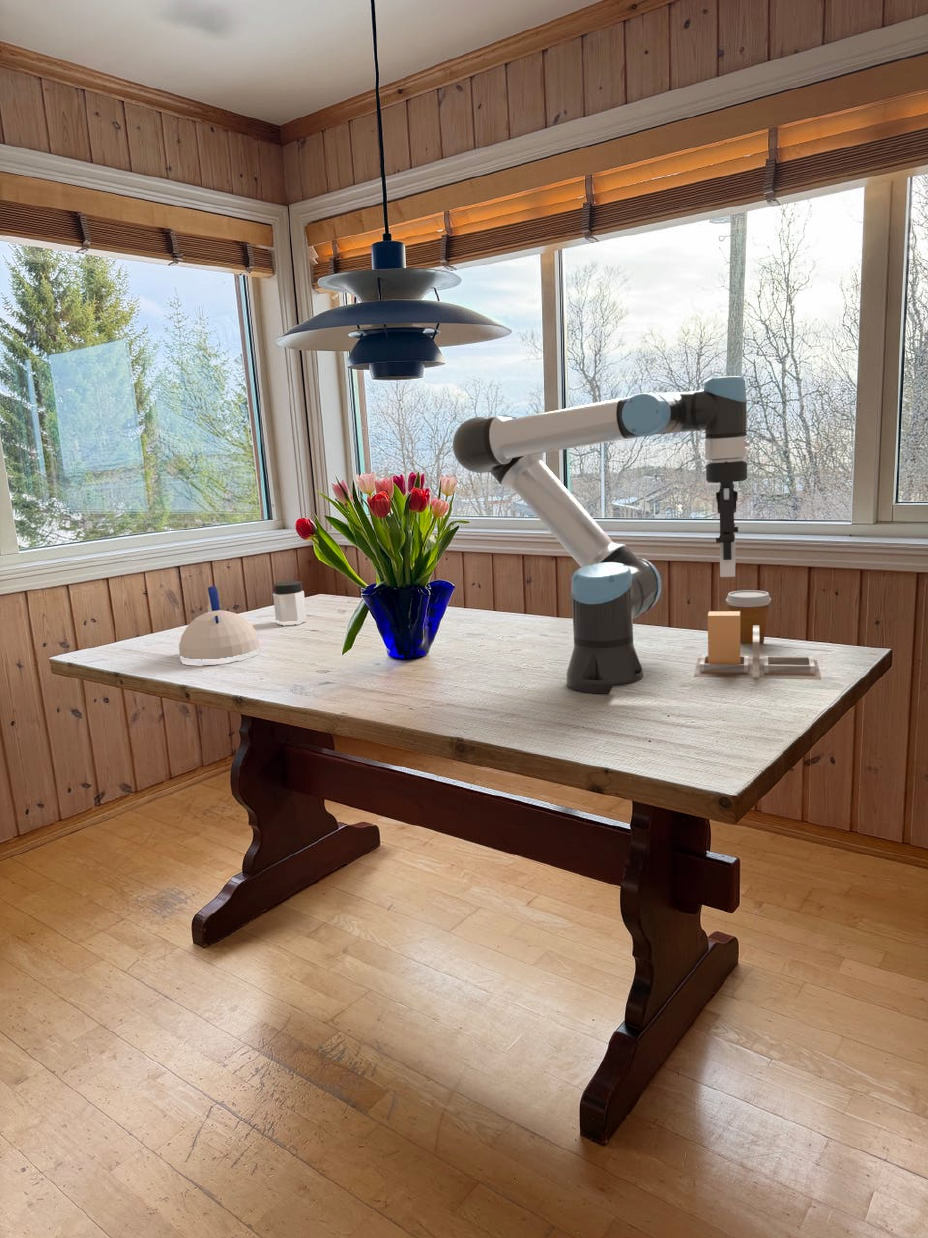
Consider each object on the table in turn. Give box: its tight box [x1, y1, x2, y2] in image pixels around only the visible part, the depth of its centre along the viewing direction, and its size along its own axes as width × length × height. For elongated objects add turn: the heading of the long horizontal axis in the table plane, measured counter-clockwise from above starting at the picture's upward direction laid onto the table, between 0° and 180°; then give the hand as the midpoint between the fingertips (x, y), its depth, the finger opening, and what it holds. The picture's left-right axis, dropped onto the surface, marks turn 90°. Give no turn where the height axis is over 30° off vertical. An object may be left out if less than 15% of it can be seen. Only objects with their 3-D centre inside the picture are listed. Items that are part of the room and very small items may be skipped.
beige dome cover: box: [178, 585, 261, 660], centre depth 219 cm, size 20×21×18 cm
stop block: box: [707, 610, 741, 664], centre depth 172 cm, size 4×6×11 cm, turn 72°
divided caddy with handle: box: [693, 625, 822, 680], centre depth 171 cm, size 14×23×8 cm, turn 72°
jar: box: [272, 580, 308, 622], centre depth 254 cm, size 9×8×12 cm
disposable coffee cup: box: [725, 589, 772, 645], centre depth 193 cm, size 10×10×12 cm
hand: (728, 570), depth 169 cm, fingers open, 13 cm apart
